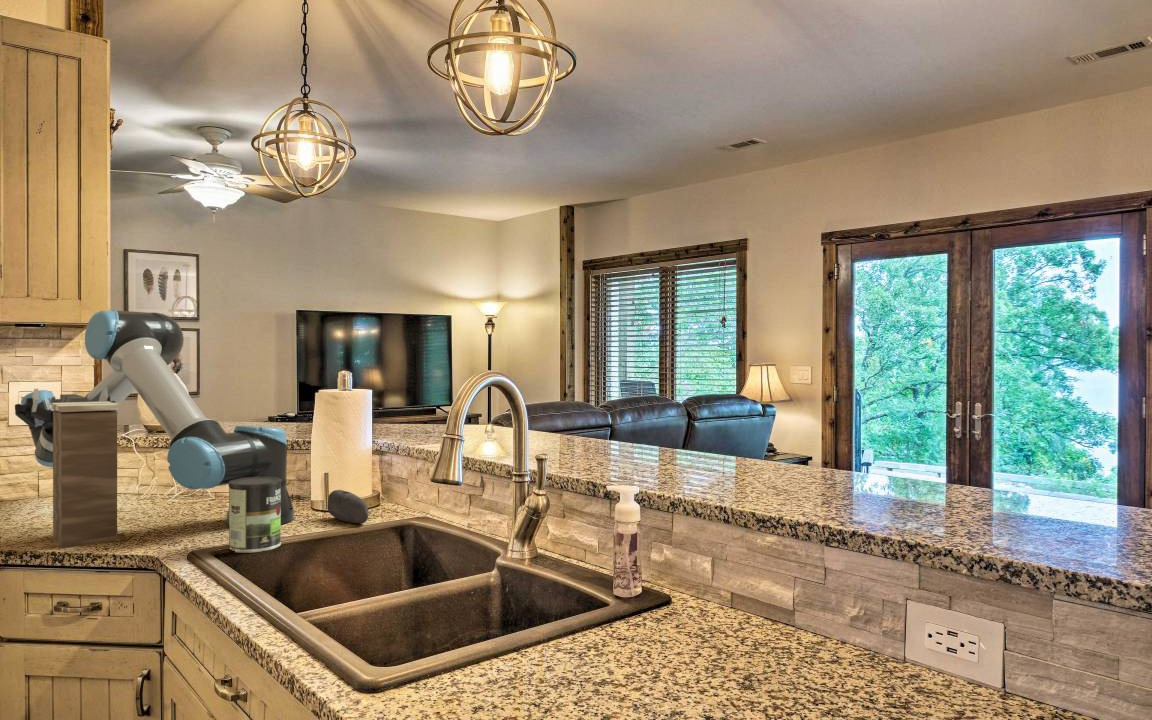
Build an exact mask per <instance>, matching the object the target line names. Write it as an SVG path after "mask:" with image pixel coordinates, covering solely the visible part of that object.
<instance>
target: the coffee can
mask: <svg viewBox="0 0 1152 720" xmlns="http://www.w3.org/2000/svg"><path fill="white" fill-rule="evenodd" d="M227 485H228V496H229V497H228V509H229V525H228V546H229V547H231V548H234V549H235V552H234V553H240V554H242V553H243V554H247V553H248V554H250V553H262V552H269V551H271V550H275V549H277V548H279V547H280V546H281V545H282V541H281V538H282V537H281V535H282V534H281V532H282V531H281V525H282V524H281V479H280V478H277V477H248V478H240V479H235V480H231V481H229V482H228V484H227ZM229 547H228V548H229Z"/></svg>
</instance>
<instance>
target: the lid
mask: <svg viewBox="0 0 1152 720" xmlns="http://www.w3.org/2000/svg"><path fill="white" fill-rule="evenodd" d="M59 399H60V403H51V409H54V410H56V411H59V412H79V411H103V410H118V411H119V410H120V404H116V403H113V402H109V401H94V402H88V398H87V397H85V396H83V395H79V394H75V393H72V394H70V393H69V394H68V393H67V394H60V395H59Z"/></svg>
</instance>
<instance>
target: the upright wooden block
mask: <svg viewBox="0 0 1152 720" xmlns="http://www.w3.org/2000/svg"><path fill="white" fill-rule="evenodd" d="M52 503H53V504H52V538H53V539H54V540H55V542H56V543H57V544H58V545H59V546H60V548H61V549H67V548H72V547H79V546H86V545H87V546H88V545H93V544H94V545H95V544H101V543H110V542H115V541H118V413H117V411H114V410H103V411H79V412H59V411H56V410H53V467H52Z"/></svg>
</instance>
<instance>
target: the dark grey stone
mask: <svg viewBox="0 0 1152 720" xmlns="http://www.w3.org/2000/svg"><path fill="white" fill-rule="evenodd" d="M327 497H328V498H327V504H326V505H327V506H326V507H327V511H328V513H329V515H331V516H332V517H334V518H335V519H337V520H339V521H342V522H345V523H351V524H354V523H362V524H364V523H366V522H367V521H368V519H369V516H370V514H369V512H370V511H369V508H368V506H367V503H366V502H365V500H363V499H362V498H361V497H359V496H358V495H356V494H355V493H352V492H350V491H347V490H342V489H336V490H333V491H331V492H330V493H329V494H328V496H327Z"/></svg>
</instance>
